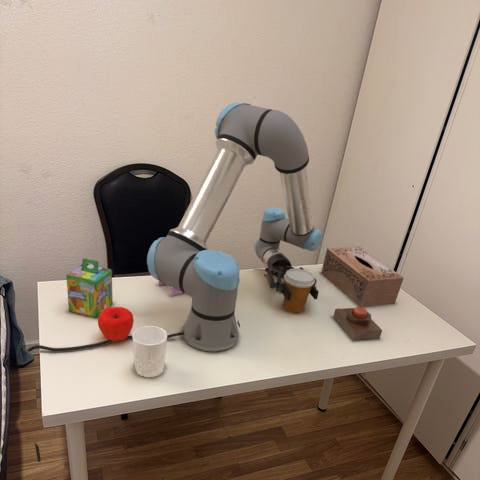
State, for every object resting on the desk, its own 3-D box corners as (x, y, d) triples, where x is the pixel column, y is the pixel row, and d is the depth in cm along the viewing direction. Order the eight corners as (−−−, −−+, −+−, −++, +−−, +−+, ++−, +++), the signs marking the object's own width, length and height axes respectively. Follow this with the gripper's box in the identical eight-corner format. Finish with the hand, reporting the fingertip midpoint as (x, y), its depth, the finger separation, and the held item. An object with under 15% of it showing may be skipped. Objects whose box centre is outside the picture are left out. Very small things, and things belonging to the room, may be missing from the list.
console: (352, 341, 127) (357, 326, 125) (332, 317, 138) (336, 303, 135) (379, 339, 130) (384, 325, 127) (357, 315, 140) (361, 302, 138)
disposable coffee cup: (307, 303, 143) (314, 270, 137) (308, 318, 135) (316, 284, 129) (278, 299, 144) (284, 266, 137) (278, 313, 136) (284, 279, 129)
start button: (356, 319, 129) (358, 314, 128) (350, 312, 132) (351, 307, 131) (368, 318, 130) (370, 313, 129) (361, 311, 134) (363, 306, 133)
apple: (112, 352, 110) (111, 326, 106) (91, 336, 114) (89, 311, 110) (140, 339, 116) (140, 314, 112) (120, 325, 120) (119, 300, 116)
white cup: (171, 363, 109) (172, 330, 103) (157, 382, 102) (158, 348, 97) (142, 355, 110) (142, 322, 105) (127, 374, 103) (126, 339, 98)
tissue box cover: (394, 303, 151) (403, 277, 145) (360, 307, 145) (368, 280, 140) (352, 270, 170) (359, 246, 165) (321, 272, 165) (327, 248, 160)
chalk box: (68, 311, 123) (63, 264, 115) (85, 297, 130) (81, 251, 123) (98, 319, 121) (95, 271, 114) (114, 303, 129) (112, 258, 121)
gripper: (302, 272, 155) (331, 305, 137) (246, 274, 149) (268, 308, 131) (307, 253, 151) (337, 284, 133) (249, 253, 145) (272, 286, 127)
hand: (303, 296), depth 132 cm, fingers closed on disposable coffee cup, 8 cm apart
